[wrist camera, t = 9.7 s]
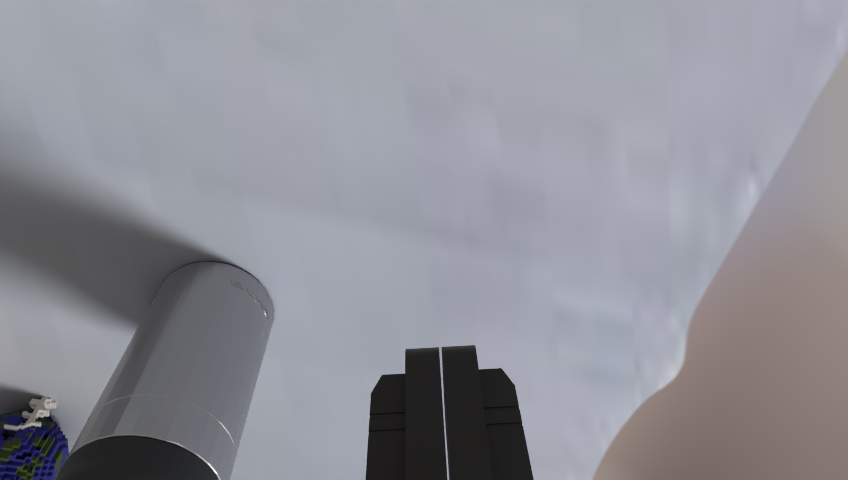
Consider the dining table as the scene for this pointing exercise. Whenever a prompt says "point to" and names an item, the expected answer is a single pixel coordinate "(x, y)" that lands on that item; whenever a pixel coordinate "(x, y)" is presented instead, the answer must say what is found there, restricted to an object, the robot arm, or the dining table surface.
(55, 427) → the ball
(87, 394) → the dining table surface
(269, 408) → the dining table surface
